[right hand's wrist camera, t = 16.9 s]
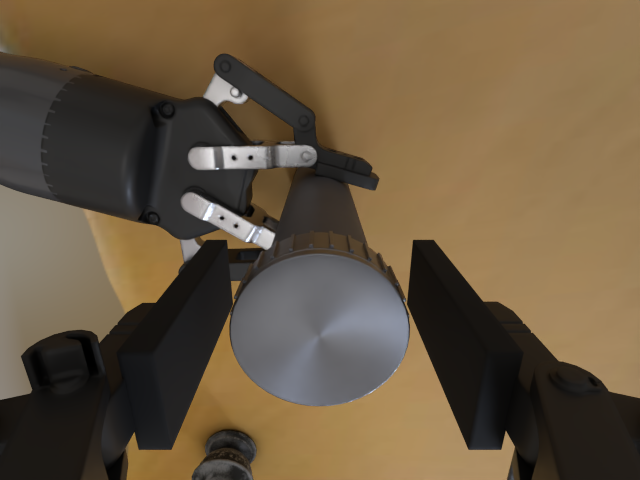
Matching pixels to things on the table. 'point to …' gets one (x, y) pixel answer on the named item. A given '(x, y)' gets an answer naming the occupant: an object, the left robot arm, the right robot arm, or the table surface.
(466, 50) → the table surface
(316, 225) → the dark grey cylinder
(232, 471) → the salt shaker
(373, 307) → the lid
